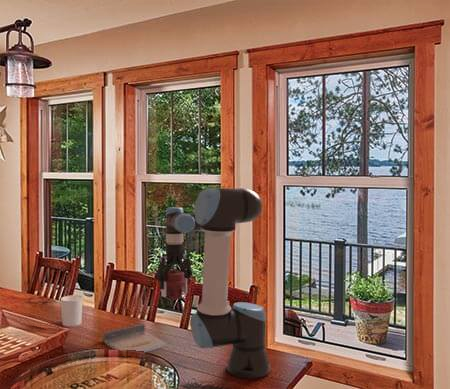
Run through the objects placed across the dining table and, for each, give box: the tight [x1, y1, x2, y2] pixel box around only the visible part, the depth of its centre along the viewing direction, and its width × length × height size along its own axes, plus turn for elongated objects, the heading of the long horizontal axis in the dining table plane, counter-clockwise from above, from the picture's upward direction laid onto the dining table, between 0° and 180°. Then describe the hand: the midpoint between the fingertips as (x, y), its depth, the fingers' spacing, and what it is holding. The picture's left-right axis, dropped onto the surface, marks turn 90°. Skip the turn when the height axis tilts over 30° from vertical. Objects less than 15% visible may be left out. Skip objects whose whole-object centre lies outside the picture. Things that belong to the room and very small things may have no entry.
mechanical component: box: [165, 269, 186, 302], centre depth 191 cm, size 12×10×10 cm
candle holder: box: [60, 294, 84, 327], centre depth 204 cm, size 10×10×12 cm
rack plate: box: [102, 323, 167, 353], centre depth 180 cm, size 20×18×4 cm
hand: (174, 294), depth 191 cm, fingers closed on mechanical component, 10 cm apart
